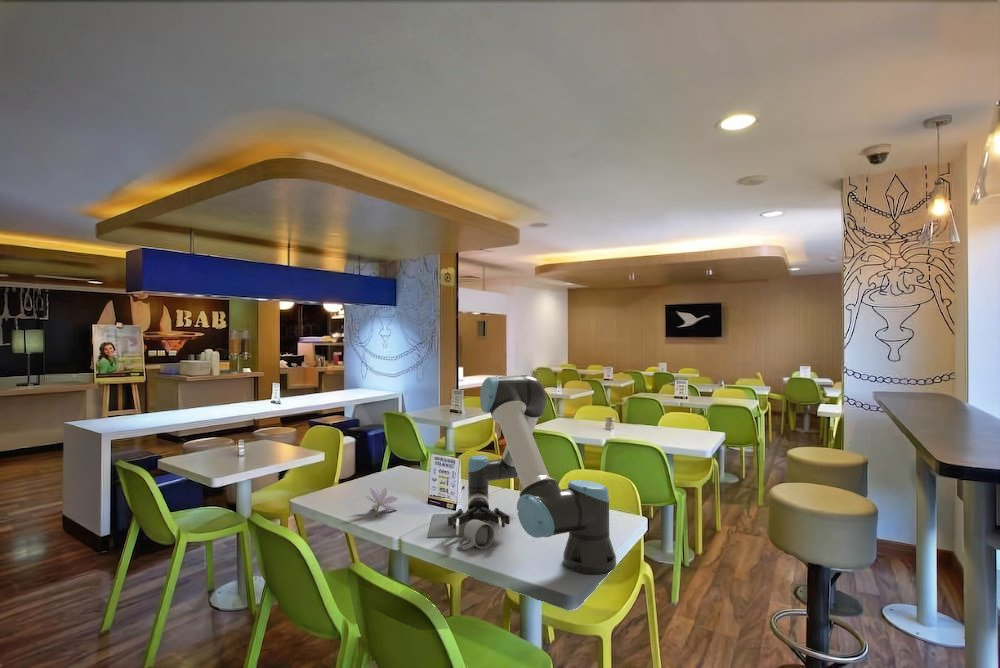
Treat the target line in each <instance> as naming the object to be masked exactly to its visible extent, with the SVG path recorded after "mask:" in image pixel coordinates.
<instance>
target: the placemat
mask: <svg viewBox="0 0 1000 668" xmlns="http://www.w3.org/2000/svg"><path fill="white" fill-rule="evenodd" d="M453 514H454V513H433V514H432V517H431V520H430V521H431V522H430V525H429V529H428V534H427V538H429V539H434V538H435V537H438V538H456V537H457V538H462V537H463V536H464V527H465V525H466V524H467V523H468V522H469V521H467V522H465V523H463V524H461V525H459V534H458V535H456V529H453V525H451V526H448V517H450V516H451V515H453ZM435 539H436V538H435Z"/></svg>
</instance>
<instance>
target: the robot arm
mask: <svg viewBox="0 0 1000 668" xmlns="http://www.w3.org/2000/svg"><path fill="white" fill-rule="evenodd" d="M479 396H480V397H479V401H480V408H481V411H482V412H483V413H485V414H490V416H491V417H492V421H494V422H495V423H498V424H499V427H500V430H501V432H502V435H503V437H504V441H505V443H506V445H505V448H504V451H503V454H502V456H501V458H500V459H491V460H489V458H488V457H487V456H486V455H474V456H471V457H469V458H468V462H467V478H468V481H467V483H468V487H467V492H468V494H467V496H468V498H467V510H466V511H464V510H463V509H462V508H459V509H458V510H457V512H454V513H452V514H453V515H451V516H450V517H448V526H451V525H453V529H456V535H458V534H459V525H461V524H463V523H465V522H467V521H470V520H480V521H483V522H485V521H486V522H491V523H495V524H497V525H498V531H499V534H502V533H503V528H505V527H506V525H510V515H509V514H506V513H505V512H503V511H501V510H500V509H499V508H498V507H495V508H494V509H493V510H491V508H490V502H489V482H493V481H500V480H501V481H502V480H508V479H509V480H510V479H516V478H518V479H519V482H520V486H521V490H520V492H519V498H518V500H517V504H516V510H517V517H518V521H519V523H520V524H521V526H522V528H523V530H524V532H526V533H527V535H529V536H531V537H533V538H535V539H537V538H538V539H539V538H550V537H552V536H556V535H560V534H562V535H563V534H566V533H568V537H567V541H566V544H565V547H564V550H563V557H562V558H563V560H562V561H563V564H564V566H565V567H566V568H568V569H570V571H573V572H576V573H580V574H587V575H601V574H606V573H609V572H612V571H613V570H614V569H615V568H616V567H617V556H616V553H615V550H614V547H613V543H612V541H611V538H610V503H611V502H610V496H609V489H608V488H607V487H606V486H605V485H603V484H601V483H599V482H595V481H590V480H582V479H574V480H570V481H569V482H568V483H567V488H560V486H559V483H558V481H557V479H555V478H552V477H551V476H550V475H549V472H548V470H547V466H546V465H545V462H544V460H543V457H542V455H541V452H540V449H539V448H538V445H537V442H536V440H535V437H534V435H533V433H534V431H535V429H536V425H537V423H538V421H539V419H540V418H541V417H542V416H543V415H544V412H545V410H546V408H547V407H546V406H547V394H546V390H545V387H544V386H543V384H542V383H541V382H540V380H539V379H537V378H535V377H534V376H531V375H527V374H524V375H523V374H521V375H508V376H507V375H506V376H503V375H502V376H498V375H495V376H491V377H490V376H489V377H487V378H485V379H484V381H483V382H482V383H481V388H480V395H479Z"/></svg>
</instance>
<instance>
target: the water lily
mask: <svg viewBox="0 0 1000 668" xmlns="http://www.w3.org/2000/svg"><path fill="white" fill-rule="evenodd" d="M369 491H370V494H371V496H372V497H370V496H368V495H365V497H366V498H367V499H368V501H370V502H372V503H374V504H372V505H371V509H372V508H373V509H372V510H376V511H375V515H377V516H378V512H379V509H380V507H382V508H384V509H386V510H389V511H394V510H397V508H396V507H394V506H392V504H394V503H395V502H397V501H398V500H399V498H398V497H397V496H394V495H392V494H391V495H388V489H387V488H383V489H382V490H381V492H380V491H379V488H376V489H375V490H374V489H373V488H369ZM387 495H388V496H387ZM397 511H398V510H397Z"/></svg>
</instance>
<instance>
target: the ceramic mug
mask: <svg viewBox="0 0 1000 668" xmlns="http://www.w3.org/2000/svg"><path fill="white" fill-rule="evenodd" d="M494 540H495V530H494V527H493V525H492V524H491V523H488V522H485V521H484V520H483V521H480V520H470V521H469V522H468V523H467V524H466V525H465V527H464V536H463V537H460V539H459V540H458V544H457V545H458V547H459V549H460V550H461V551H467V550H470V549H471V548H473V547H476V548H478V549H480V550H484V549H487V548H489V547H490V546H491V545H492V544H493V542H494ZM466 541H467V542H469V543H467V544H464V545H463V543H464V542H466Z"/></svg>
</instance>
